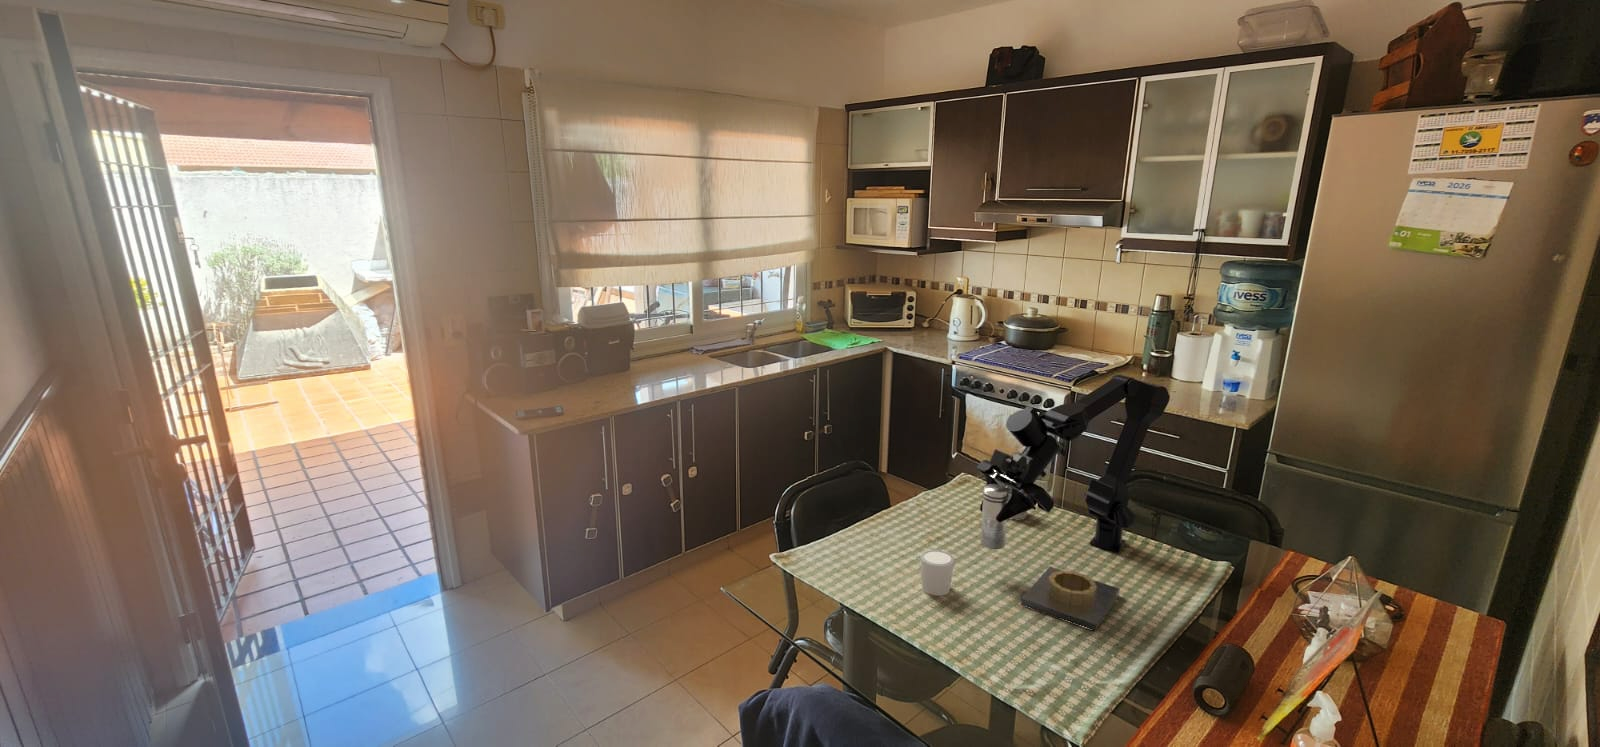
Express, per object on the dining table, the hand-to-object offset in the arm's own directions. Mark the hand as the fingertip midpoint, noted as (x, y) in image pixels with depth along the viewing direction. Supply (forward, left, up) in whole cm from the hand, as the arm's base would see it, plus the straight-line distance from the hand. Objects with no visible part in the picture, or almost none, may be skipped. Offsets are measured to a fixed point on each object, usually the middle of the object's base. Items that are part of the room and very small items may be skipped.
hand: (989, 516), depth 141 cm
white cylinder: (+12, -6, -14) cm, 19 cm away
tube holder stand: (-1, +17, -13) cm, 22 cm away
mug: (-32, -9, -14) cm, 36 cm away
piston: (-1, +1, -7) cm, 7 cm away
